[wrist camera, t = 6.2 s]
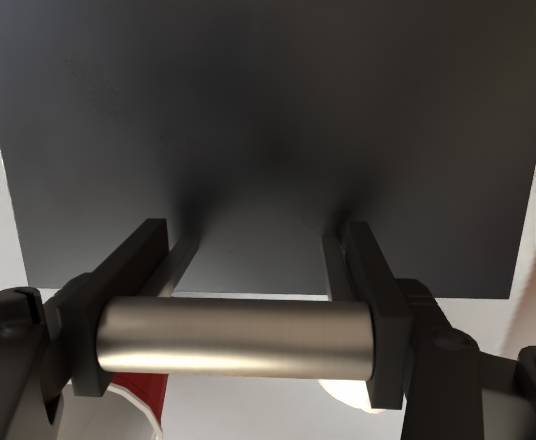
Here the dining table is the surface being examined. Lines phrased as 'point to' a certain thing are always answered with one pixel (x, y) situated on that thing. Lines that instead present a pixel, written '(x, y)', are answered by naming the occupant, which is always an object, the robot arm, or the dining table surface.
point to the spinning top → (350, 393)
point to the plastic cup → (116, 410)
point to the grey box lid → (267, 164)
